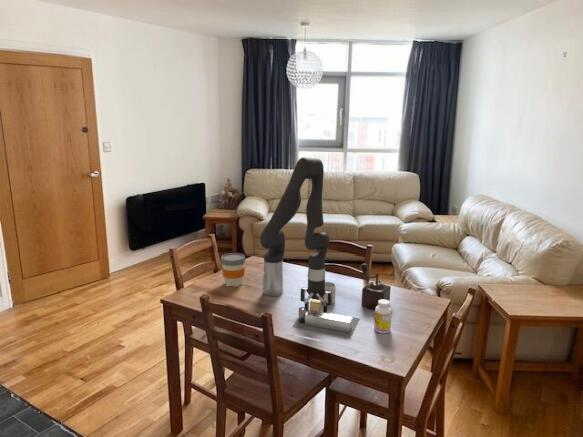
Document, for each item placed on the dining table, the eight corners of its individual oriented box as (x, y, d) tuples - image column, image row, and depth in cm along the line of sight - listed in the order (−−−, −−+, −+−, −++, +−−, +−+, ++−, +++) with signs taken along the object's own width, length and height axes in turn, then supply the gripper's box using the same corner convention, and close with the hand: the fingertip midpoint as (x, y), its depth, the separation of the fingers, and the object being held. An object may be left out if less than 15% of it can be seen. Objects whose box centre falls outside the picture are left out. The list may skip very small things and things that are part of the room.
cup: (327, 307, 198) (328, 289, 196) (312, 300, 205) (312, 282, 203) (338, 302, 202) (338, 285, 200) (322, 296, 210) (323, 279, 207)
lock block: (309, 315, 188) (309, 302, 187) (312, 311, 192) (312, 298, 190) (318, 316, 187) (318, 304, 185) (320, 312, 190) (321, 300, 189)
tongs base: (296, 323, 181) (297, 310, 179) (300, 319, 184) (300, 306, 183) (348, 333, 173) (349, 319, 171) (351, 328, 176) (351, 315, 175)
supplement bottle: (372, 326, 180) (373, 298, 177) (387, 325, 180) (389, 297, 177) (376, 334, 173) (378, 305, 170) (392, 333, 174) (394, 304, 171)
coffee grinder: (390, 304, 201) (393, 268, 197) (382, 312, 192) (384, 275, 188) (360, 296, 210) (362, 261, 205) (350, 304, 201) (352, 268, 196)
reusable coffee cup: (216, 285, 222) (215, 257, 218) (232, 277, 232) (231, 251, 229) (235, 290, 216) (234, 262, 212) (250, 282, 226) (250, 255, 222)
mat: (291, 328, 178) (291, 326, 178) (305, 310, 194) (305, 309, 194) (350, 339, 169) (350, 338, 169) (360, 319, 185) (360, 318, 185)
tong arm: (306, 321, 182) (307, 311, 181) (308, 319, 184) (308, 309, 183) (350, 329, 175) (350, 319, 174) (351, 327, 177) (352, 317, 176)
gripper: (334, 276, 186) (333, 310, 190) (303, 272, 191) (303, 305, 195) (329, 282, 179) (329, 318, 183) (298, 278, 184) (297, 312, 188)
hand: (315, 311), depth 189 cm, fingers open, 7 cm apart
